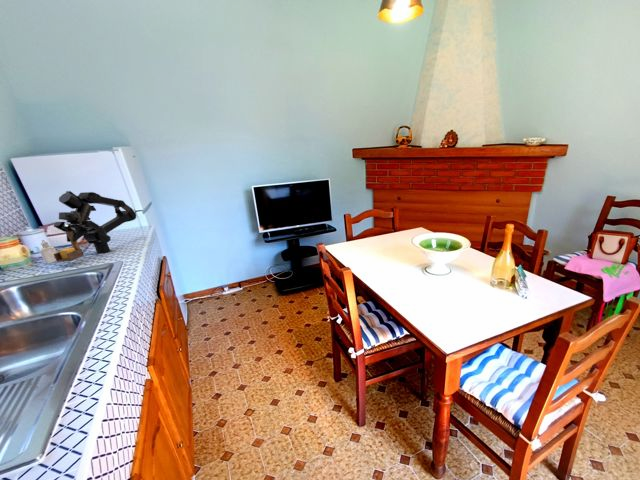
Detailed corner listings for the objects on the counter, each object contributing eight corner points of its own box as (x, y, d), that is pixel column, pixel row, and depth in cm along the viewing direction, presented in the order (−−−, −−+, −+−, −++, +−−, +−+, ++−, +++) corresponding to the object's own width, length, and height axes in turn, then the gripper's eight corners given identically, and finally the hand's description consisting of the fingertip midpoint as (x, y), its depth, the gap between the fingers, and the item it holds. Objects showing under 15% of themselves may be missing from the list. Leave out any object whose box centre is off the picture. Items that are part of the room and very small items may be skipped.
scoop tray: (75, 254, 151) (65, 231, 146) (88, 253, 150) (78, 230, 146) (56, 261, 142) (45, 237, 137) (70, 261, 141) (60, 236, 137)
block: (70, 255, 146) (66, 248, 145) (77, 255, 146) (74, 247, 145) (62, 258, 143) (58, 250, 141) (70, 258, 142) (66, 250, 141)
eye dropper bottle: (60, 262, 153) (50, 239, 148) (45, 265, 149) (34, 242, 145) (60, 259, 156) (50, 238, 151) (45, 263, 152) (35, 240, 148)
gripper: (48, 205, 144) (35, 234, 138) (84, 204, 143) (73, 232, 137) (70, 217, 154) (59, 244, 149) (104, 216, 153) (94, 243, 147)
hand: (70, 241), depth 145 cm, fingers closed on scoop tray, 2 cm apart
